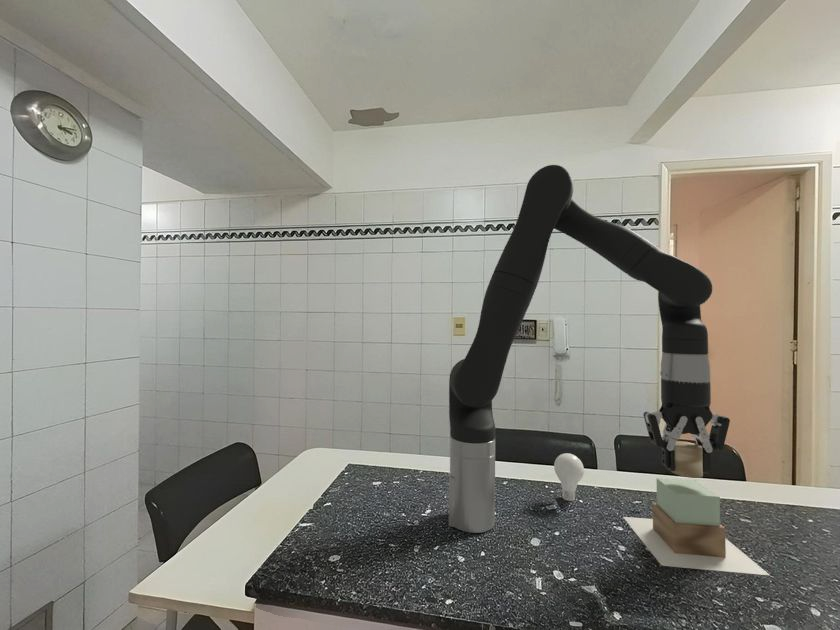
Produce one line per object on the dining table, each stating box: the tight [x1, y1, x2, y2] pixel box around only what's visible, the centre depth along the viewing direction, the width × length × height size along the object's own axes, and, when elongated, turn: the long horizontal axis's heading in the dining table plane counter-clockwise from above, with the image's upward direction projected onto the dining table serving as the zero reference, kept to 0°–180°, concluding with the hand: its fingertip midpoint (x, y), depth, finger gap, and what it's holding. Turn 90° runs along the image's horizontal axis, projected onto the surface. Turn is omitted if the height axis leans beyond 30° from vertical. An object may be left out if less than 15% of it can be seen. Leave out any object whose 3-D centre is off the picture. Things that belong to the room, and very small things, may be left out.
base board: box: [622, 516, 771, 576], centre depth 69 cm, size 16×16×1 cm
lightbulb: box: [553, 452, 585, 502], centre depth 86 cm, size 6×6×11 cm
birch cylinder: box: [670, 440, 704, 479], centre depth 69 cm, size 5×5×5 cm
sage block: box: [656, 477, 721, 526], centre depth 69 cm, size 7×7×5 cm
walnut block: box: [652, 502, 726, 558], centre depth 69 cm, size 8×8×5 cm
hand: (686, 470), depth 69 cm, fingers closed on birch cylinder, 5 cm apart
